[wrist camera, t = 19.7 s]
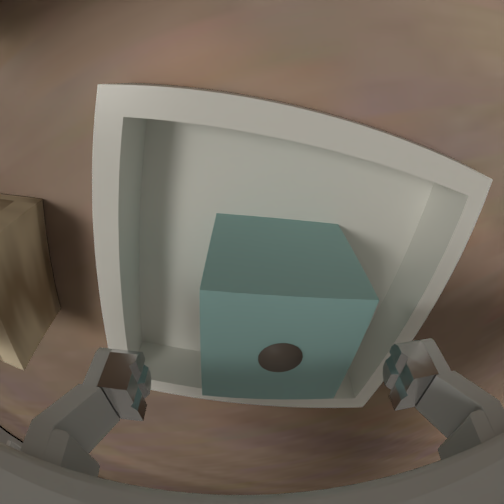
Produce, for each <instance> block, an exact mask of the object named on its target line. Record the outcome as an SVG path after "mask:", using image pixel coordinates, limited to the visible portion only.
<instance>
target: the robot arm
mask: <svg viewBox="0 0 504 504" xmlns="http://www.w3.org/2000/svg"><path fill="white" fill-rule="evenodd" d="M389 352H390V355H391V356H390V357H389V358H388V359H386V360H385V363H384V365H383V380H384V383H385V386H387V387H388V388H389V389H391V392H390V395H389V397H390V399H391V402H392V405H393V408H394V410H395V411H396V410H401V409H406V408H411V407H415V408H416V409H417V410H418V411H419V412H420V413H421V414H422V415H423V416H424V417H425V418H426V419H428V420H429V421H430V422H431V423H432V424H433V425H434V426H435V427H436V428H437V429H438V430H439V431H440V432H441V433H442V434H444V435H445V436H446V437H447V439H446V440H445V441H444V442H443V443H442V444H441V445H440V447H439V448H438V452H439V455H440V458H441V460H440V461H437V462H434V463H431V464H428V465H425V466H422V467H419V468H416V469H413V470H410V471H406V472H403V473H399V474H396V475H392V476H388V477H384V478H380V479H376V480H372V481H367V482H362V483H358V484H353V485H347V486H342V487H336V488H329V489H322V490H315V491H306V492H296V493H284V494H267V495H216V494H198V493H186V492H176V491H168V490H160V489H153V488H147V487H141V486H136V485H130V484H125V483H120V482H116V481H111V480H107V479H103V478H99V477H98V473H99V468H100V465H99V464H98V462H97V461H96V460H95V459H94V458H92V457H91V456H90V455H89V453H90V452H91V451H92V449H93V448H94V447H95V446H96V445H97V444H98V443H99V442H100V441H101V440H102V439H103V438H104V437H105V436H106V435H107V433H108V432H109V431H110V430H111V429H112V428H113V427H114V426H115V425H116V424H117V423H118V422H119V421H120V418H121V419H129V420H138V421H143V420H144V416H145V412H146V407H147V404H146V402H145V399H144V398H146V397H147V396H148V395H149V394H150V389H151V374H150V370H149V368H148V367H147V366H146V365H144V362H145V357H144V354H143V352H137V351H128V350H119V349H110V348H101V347H100V348H99V349H98V350H97V351H96V353H95V355H94V358H93V360H92V362H91V365H90V367H89V370H88V372H87V374H86V377H85V379H84V382H83V384H78V385H77V386H75V387H74V388H73V389H72V390H70V391H69V392H68V393H66V394H65V395H64V396H62V397H61V398H60V399H58V400H57V401H56V402H55V403H53V404H52V405H51V406H49V407H48V408H47V409H45V410H44V411H43V412H42V413H40V414H39V415H38V416H36V417H35V418H34V419H32V421H31V424H30V426H29V429H28V431H27V434H26V436H25V439H24V442H23V443H22V442H20V441H19V440H17V439H16V438H14V437H13V436H11V435H10V434H8V433H7V432H5V431H4V430H3V429H2V428H0V504H504V409H503V407H502V405H501V403H500V401H499V400H498V399H496V398H495V397H493V396H492V395H490V394H489V393H487V392H486V391H484V390H483V389H482V388H480V387H479V386H477V385H476V384H474V383H473V382H471V381H470V380H468V379H466V378H465V377H463V376H462V375H460V374H459V373H457V372H456V371H451V370H450V368H449V366H448V364H447V362H446V360H445V359H444V357H443V355H442V353H441V352H440V350H439V348H438V346H437V345H436V343H435V341H434V340H433V339H432V338H429V339H423V340H415V341H409V342H403V343H396V344H394V345H392V346H391V349H390V351H389Z"/></svg>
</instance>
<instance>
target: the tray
mask: <svg viewBox="0 0 504 504" xmlns="http://www.w3.org/2000/svg"><path fill="white" fill-rule="evenodd" d="M492 180H493V179H491V178H489V177H487V176H486V175H484V174H482V173H480V172H478V171H477V170H475V169H473V168H471V167H469V166H467V165H465V164H463V163H461V162H459V161H457V160H455V159H454V158H451V157H449V156H447V155H445V154H442V153H440V152H438V151H435V150H433V149H431V148H428V147H426V146H423V145H421V144H419V143H416V142H413V141H411V140H408V139H406V138H403V137H400V136H398V135H395V134H392V133H389V132H387V131H384V130H381V129H378V128H375V127H372V126H369V125H366V124H363V123H360V122H356V121H353V120H350V119H347V118H343V117H340V116H336V115H333V114H329V113H325V112H322V111H318V110H314V109H310V108H306V107H302V106H298V105H294V104H289V103H285V102H280V101H275V100H270V99H265V98H260V97H255V96H249V95H244V94H238V93H232V92H225V91H218V90H211V89H203V88H194V87H185V86H174V85H162V84H146V83H114V84H98V88H97V97H96V107H95V118H94V133H93V154H92V209H93V231H94V246H95V258H96V269H97V278H98V287H99V294H100V302H101V309H102V315H103V321H104V327H105V333H106V338H107V344H108V348H110V349H119V350H128V351H137V352H143V354H144V357H145V362H144V365H146V366H147V367H148V368H149V370H150V374H151V389H150V390H155V391H160V392H165V393H170V394H176V395H182V396H188V397H194V398H201V399H208V400H215V401H223V402H232V403H241V404H252V405H265V406H280V407H304V408H353V407H363V406H364V405H365V404H366V402H367V401H368V400H369V399H370V398H371V396H372V395H373V394H374V393H375V391H376V390H377V389H378V387H379V386H380V385H381V384H382V382H383V381H384V380H383V365H384V363H385V360H386V359H388V358H389V357H390V356H391V355H390V352H389V351H390V349H391V346H392V345H394V344H396V343H403V342H409V341H412V340H413V339H414V337H415V336H416V334H417V333H418V331H419V330H420V328H421V326H422V325H423V323H424V322H425V320H426V318H427V317H428V315H429V313H430V312H431V310H432V308H433V307H434V305H435V303H436V302H437V300H438V298H439V296H440V295H441V293H442V291H443V289H444V287H445V286H446V284H447V282H448V280H449V278H450V276H451V274H452V273H453V271H454V269H455V267H456V265H457V263H458V261H459V259H460V257H461V255H462V253H463V250H464V248H465V246H466V244H467V242H468V240H469V238H470V235H471V233H472V231H473V229H474V226H475V224H476V222H477V219H478V217H479V214H480V212H481V209H482V207H483V204H484V202H485V199H486V197H487V194H488V191H489V188H490V186H491V183H492ZM217 213H221V214H234V215H247V216H259V217H270V218H281V219H292V220H302V221H312V222H322V223H332V224H338V225H339V227H340V228H341V230H342V232H343V234H344V235H345V237H346V239H347V241H348V242H349V244H350V246H351V248H352V250H353V251H354V253H355V255H356V257H357V259H358V260H359V262H360V264H361V266H362V268H363V270H364V272H365V273H366V275H367V277H368V279H369V281H370V283H371V285H372V287H373V289H374V291H375V293H376V295H377V297H378V298H379V302H378V305H377V307H376V309H375V312H374V314H373V317H372V319H371V321H370V324H369V326H368V328H367V330H366V333H365V335H364V337H363V339H362V342H361V344H360V346H359V348H358V350H357V352H356V354H355V357H354V359H353V361H352V363H351V365H350V367H349V369H348V371H347V373H346V375H345V377H344V379H343V381H342V383H341V385H340V387H339V389H338V390H337V392H336V394H335V396H334V398H332V399H248V398H230V397H216V396H205V395H202V379H201V350H200V285H201V281H202V276H203V271H204V267H205V262H206V258H207V253H208V249H209V244H210V240H211V235H212V231H213V227H214V222H215V218H216V214H217Z"/></svg>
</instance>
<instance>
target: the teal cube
mask: <svg viewBox="0 0 504 504" xmlns="http://www.w3.org/2000/svg"><path fill="white" fill-rule="evenodd" d="M378 302H379V298H378V297H377V295H376V293H375V291H374V289H373V287H372V285H371V283H370V281H369V279H368V277H367V275H366V273H365V272H364V270H363V268H362V266H361V264H360V262H359V260H358V259H357V257H356V255H355V253H354V251H353V250H352V248H351V246H350V244H349V242H348V241H347V239H346V237H345V235H344V234H343V232H342V230H341V228H340V227H339V225H338V224H332V223H322V222H312V221H302V220H292V219H281V218H270V217H259V216H247V215H234V214H221V213H217V214H216V218H215V222H214V227H213V231H212V235H211V240H210V244H209V249H208V253H207V258H206V262H205V267H204V271H203V276H202V281H201V285H200V350H201V379H202V395H205V396H216V397H230V398H248V399H332V398H334V396H335V394H336V392H337V390H338V389H339V387H340V385H341V383H342V381H343V379H344V377H345V375H346V373H347V371H348V369H349V367H350V365H351V363H352V361H353V359H354V357H355V354H356V352H357V350H358V348H359V346H360V344H361V342H362V339H363V337H364V335H365V333H366V330H367V328H368V326H369V324H370V321H371V319H372V317H373V314H374V312H375V309H376V307H377V305H378Z"/></svg>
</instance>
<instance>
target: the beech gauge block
mask: <svg viewBox="0 0 504 504" xmlns="http://www.w3.org/2000/svg"><path fill="white" fill-rule="evenodd" d="M60 309H61V308H60V304H59V300H58V295H57V291H56V286H55V282H54V277H53V272H52V266H51V261H50V255H49V249H48V242H47V235H46V228H45V219H44V210H43V199H39V198H31V197H23V196H15V195H7V194H0V360H1V361H3V362H6V363H8V364H10V365H12V366H15V367H17V368H19V369H22V370H25V368H26V366H27V365H28V363H29V361H30V359H31V357H32V356H33V354H34V352H35V350H36V349H37V347H38V345H39V343H40V342H41V340H42V338H43V337H44V335H45V333H46V332H47V330H48V328H49V327H50V325H51V323H52V322H53V320H54V319H55V317H56V315H57V314H58V312H59V311H60Z"/></svg>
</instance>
